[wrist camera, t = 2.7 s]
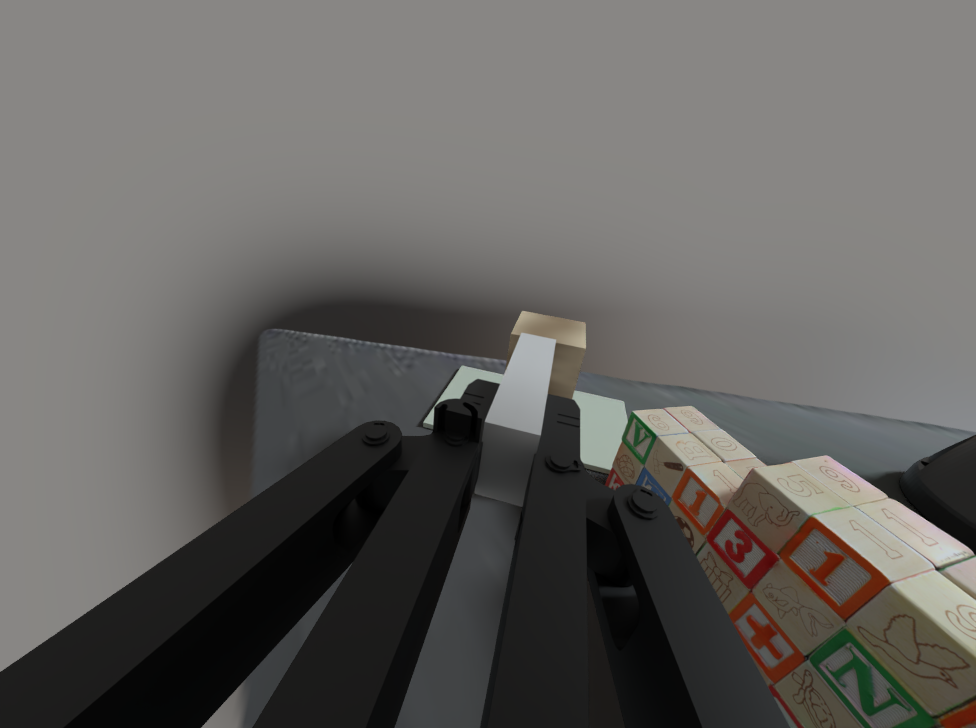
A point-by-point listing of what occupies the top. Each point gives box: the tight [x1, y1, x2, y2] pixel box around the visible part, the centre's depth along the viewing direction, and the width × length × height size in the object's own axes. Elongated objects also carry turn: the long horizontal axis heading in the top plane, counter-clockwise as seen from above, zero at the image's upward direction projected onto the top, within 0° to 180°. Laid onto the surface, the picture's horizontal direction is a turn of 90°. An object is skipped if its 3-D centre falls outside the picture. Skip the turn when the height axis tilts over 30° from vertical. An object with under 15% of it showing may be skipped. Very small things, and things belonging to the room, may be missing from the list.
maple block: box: [505, 311, 586, 399], centre depth 28 cm, size 5×5×15 cm
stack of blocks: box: [605, 406, 976, 728], centre depth 21 cm, size 21×6×12 cm, turn 14°
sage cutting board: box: [423, 366, 628, 474], centre depth 41 cm, size 22×14×1 cm, turn 76°
